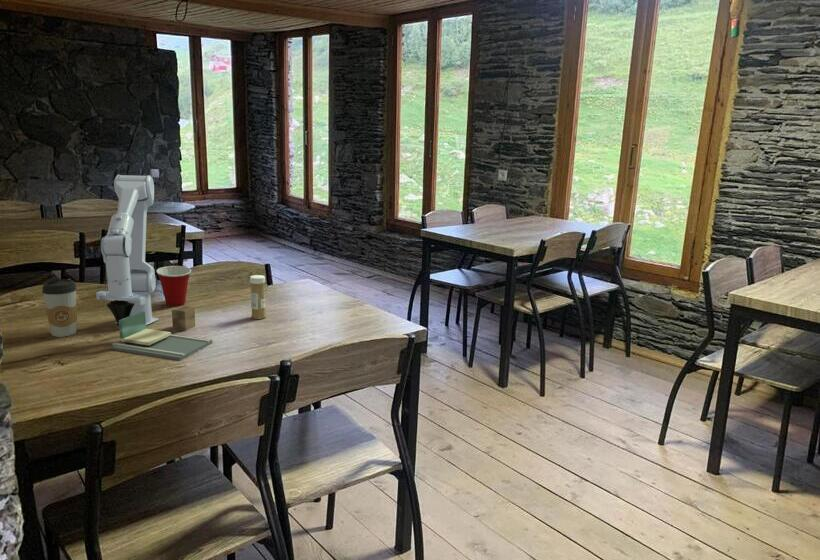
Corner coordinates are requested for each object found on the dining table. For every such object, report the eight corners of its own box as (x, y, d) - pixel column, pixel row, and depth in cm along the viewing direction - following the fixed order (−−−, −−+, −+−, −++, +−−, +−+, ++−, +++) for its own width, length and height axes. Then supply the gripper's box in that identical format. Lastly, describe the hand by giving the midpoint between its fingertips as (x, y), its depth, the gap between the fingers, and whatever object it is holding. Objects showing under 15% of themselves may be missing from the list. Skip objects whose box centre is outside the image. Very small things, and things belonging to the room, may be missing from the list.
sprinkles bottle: (268, 318, 191) (267, 277, 188) (254, 320, 189) (252, 278, 186) (262, 314, 195) (262, 273, 192) (249, 316, 193) (247, 275, 189)
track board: (109, 349, 161) (109, 344, 161) (145, 332, 174) (145, 328, 174) (180, 360, 156) (180, 356, 155) (212, 342, 169) (212, 338, 168)
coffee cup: (46, 340, 166) (40, 287, 162) (48, 331, 173) (42, 280, 169) (80, 336, 170) (75, 284, 166) (81, 327, 177) (76, 277, 173)
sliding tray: (120, 343, 163) (118, 320, 162) (143, 332, 172) (142, 311, 170) (149, 347, 161) (147, 324, 159) (171, 336, 169) (169, 315, 168)
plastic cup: (168, 311, 195) (165, 274, 192) (152, 303, 202) (150, 268, 199) (199, 304, 203) (197, 269, 200) (183, 297, 210) (181, 264, 207)
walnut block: (172, 329, 179) (171, 309, 177) (182, 324, 183) (181, 305, 181) (185, 331, 177) (184, 311, 176) (195, 326, 182) (194, 307, 180)
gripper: (85, 279, 162) (90, 327, 166) (130, 285, 158) (134, 334, 162) (105, 273, 169) (109, 320, 172) (149, 279, 165) (152, 326, 168)
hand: (123, 326), depth 167 cm, fingers closed
